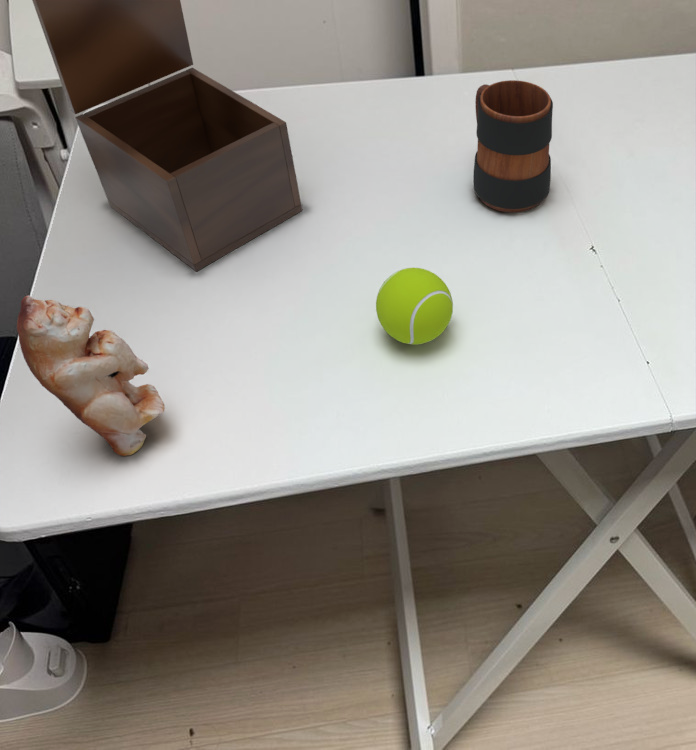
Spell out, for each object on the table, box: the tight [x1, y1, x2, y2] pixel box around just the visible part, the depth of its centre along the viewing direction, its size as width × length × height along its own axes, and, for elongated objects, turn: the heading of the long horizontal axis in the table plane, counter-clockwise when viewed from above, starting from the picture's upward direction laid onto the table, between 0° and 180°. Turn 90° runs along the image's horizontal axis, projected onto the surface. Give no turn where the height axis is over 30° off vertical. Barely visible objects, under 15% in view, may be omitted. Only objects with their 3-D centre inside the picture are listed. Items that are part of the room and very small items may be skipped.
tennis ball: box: [375, 267, 454, 345], centre depth 76 cm, size 7×7×7 cm
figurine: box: [16, 294, 165, 457], centre depth 65 cm, size 6×8×15 cm
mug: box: [472, 79, 554, 214], centre depth 91 cm, size 9×12×12 cm
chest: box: [75, 67, 303, 272], centre depth 87 cm, size 16×14×11 cm
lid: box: [32, 0, 194, 115], centre depth 80 cm, size 17×14×5 cm
